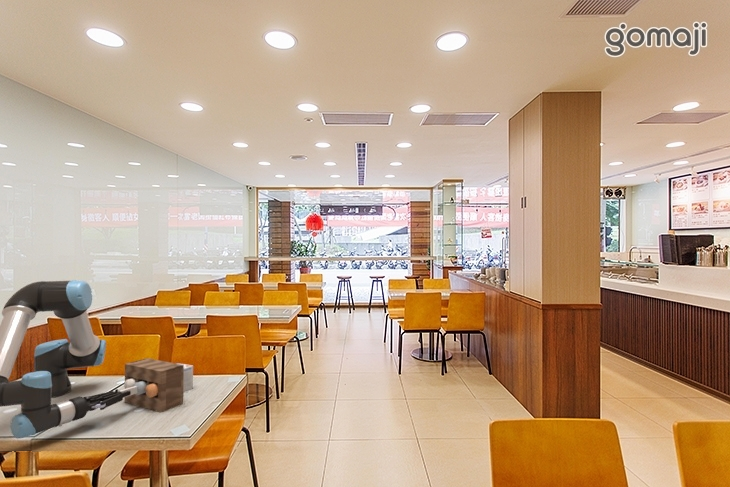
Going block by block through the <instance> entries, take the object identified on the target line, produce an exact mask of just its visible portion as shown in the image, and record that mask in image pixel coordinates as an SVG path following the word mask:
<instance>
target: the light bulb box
mask: <svg viewBox="0 0 730 487" xmlns="http://www.w3.org/2000/svg"><path fill="white" fill-rule="evenodd" d="M175 364H180V365H184V378H183V393H185V392H187V391H190V390H192V389H193V388H194V386H193V385H194V365H191V364H185V363H179V362H177V363H175Z"/></svg>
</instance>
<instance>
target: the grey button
mask: <svg viewBox="0 0 730 487" xmlns="http://www.w3.org/2000/svg"><path fill="white" fill-rule="evenodd" d="M153 383H154V382H153ZM133 386H137V393H136V394H135V395H140V394H143V393H146V392H145V389H146V386H147V381H145V380H143V381H140V382H137V383H134V385H133Z"/></svg>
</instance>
